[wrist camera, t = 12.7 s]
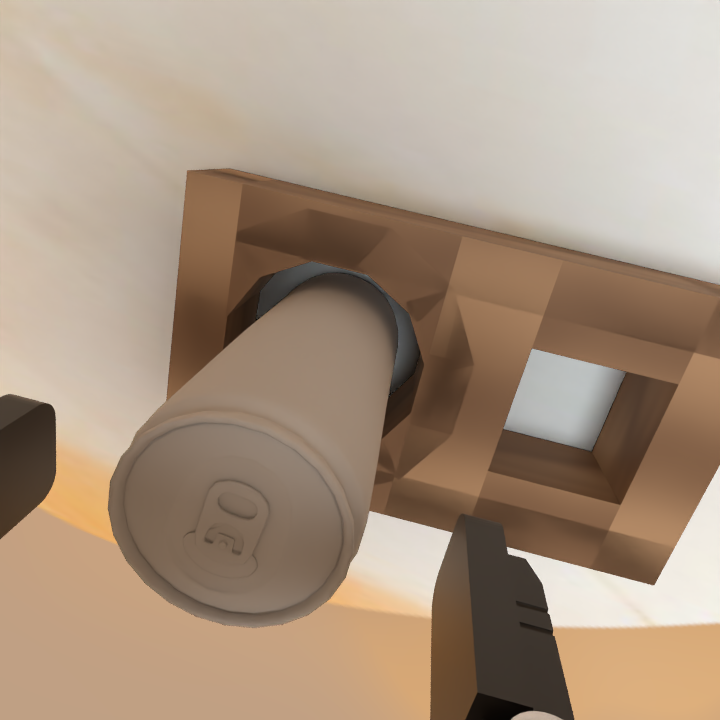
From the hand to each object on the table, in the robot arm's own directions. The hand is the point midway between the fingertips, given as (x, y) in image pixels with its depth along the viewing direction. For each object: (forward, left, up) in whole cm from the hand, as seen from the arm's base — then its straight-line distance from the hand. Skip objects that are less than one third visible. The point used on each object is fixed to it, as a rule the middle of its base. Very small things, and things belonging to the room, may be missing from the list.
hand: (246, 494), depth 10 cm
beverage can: (0, 0, -11) cm, 11 cm away
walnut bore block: (0, +4, -11) cm, 12 cm away
